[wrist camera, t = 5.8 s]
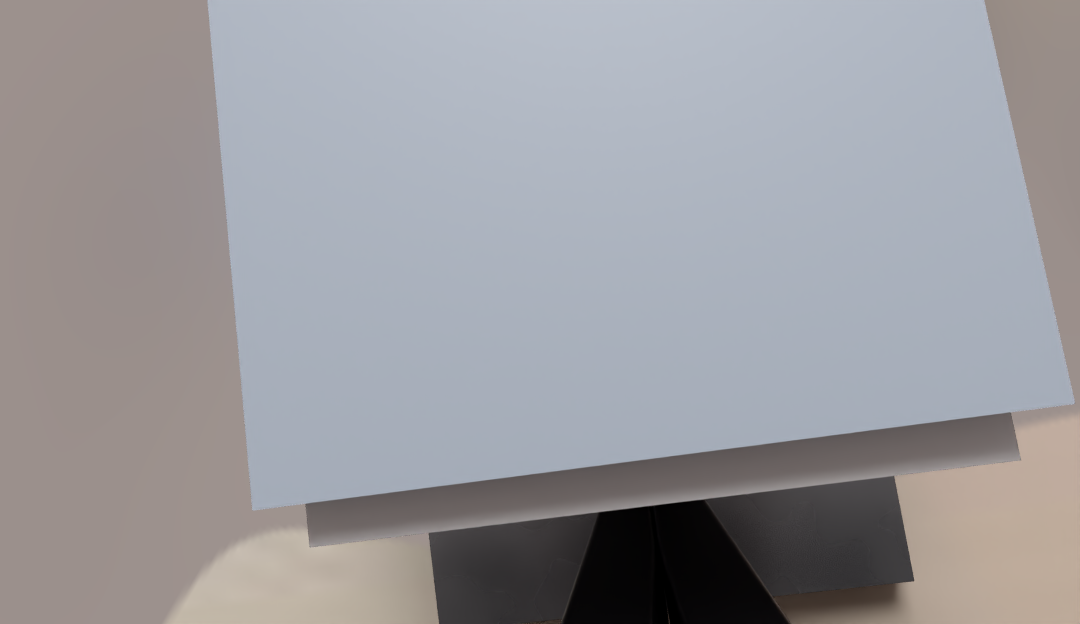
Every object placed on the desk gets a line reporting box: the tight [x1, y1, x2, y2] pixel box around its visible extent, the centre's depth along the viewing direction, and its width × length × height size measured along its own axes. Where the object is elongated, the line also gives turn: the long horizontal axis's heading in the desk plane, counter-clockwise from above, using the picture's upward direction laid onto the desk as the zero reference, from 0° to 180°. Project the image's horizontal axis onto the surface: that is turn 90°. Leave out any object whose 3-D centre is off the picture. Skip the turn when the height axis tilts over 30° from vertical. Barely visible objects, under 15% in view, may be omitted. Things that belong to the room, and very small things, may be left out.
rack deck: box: [429, 476, 914, 624], centre depth 15 cm, size 24×10×7 cm, turn 8°
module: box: [208, 0, 1075, 547], centre depth 11 cm, size 7×6×11 cm
